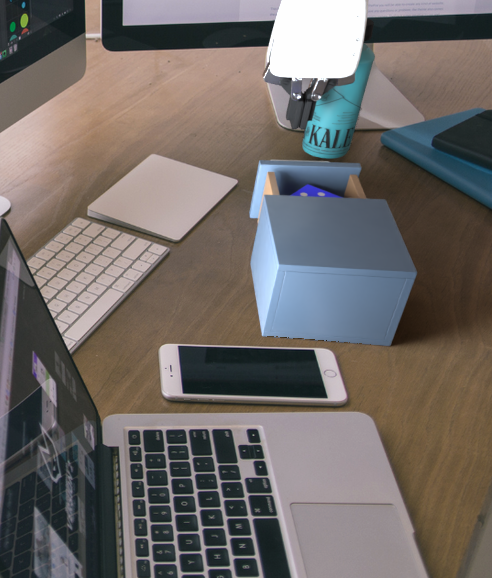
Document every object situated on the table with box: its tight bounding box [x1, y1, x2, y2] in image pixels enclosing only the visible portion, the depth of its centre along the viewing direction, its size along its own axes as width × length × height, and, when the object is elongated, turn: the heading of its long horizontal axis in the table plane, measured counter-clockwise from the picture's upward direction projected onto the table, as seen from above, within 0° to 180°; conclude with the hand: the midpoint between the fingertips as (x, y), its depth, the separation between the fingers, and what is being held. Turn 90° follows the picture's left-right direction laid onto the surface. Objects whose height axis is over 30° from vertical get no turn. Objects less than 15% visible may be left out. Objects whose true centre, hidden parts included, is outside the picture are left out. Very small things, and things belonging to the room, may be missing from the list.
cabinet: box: [249, 195, 418, 347], centre depth 84 cm, size 14×13×10 cm
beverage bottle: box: [301, 18, 376, 159], centre depth 106 cm, size 6×7×20 cm
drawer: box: [248, 159, 368, 224], centre depth 94 cm, size 17×11×8 cm, turn 168°
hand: (297, 124), depth 101 cm, fingers closed
